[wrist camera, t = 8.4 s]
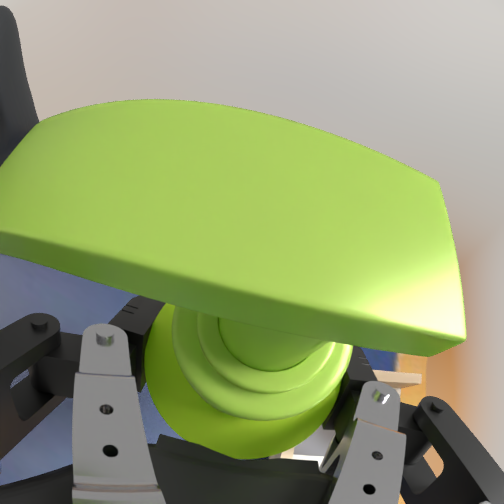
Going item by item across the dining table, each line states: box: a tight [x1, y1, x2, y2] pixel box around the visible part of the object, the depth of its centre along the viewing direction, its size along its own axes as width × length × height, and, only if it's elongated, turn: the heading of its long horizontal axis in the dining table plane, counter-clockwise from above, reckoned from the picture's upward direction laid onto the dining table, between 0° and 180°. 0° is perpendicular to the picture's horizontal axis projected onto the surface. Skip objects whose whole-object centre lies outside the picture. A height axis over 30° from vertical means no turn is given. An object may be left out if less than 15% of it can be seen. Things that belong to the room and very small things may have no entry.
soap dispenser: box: [0, 99, 466, 459], centre depth 11 cm, size 6×7×20 cm
